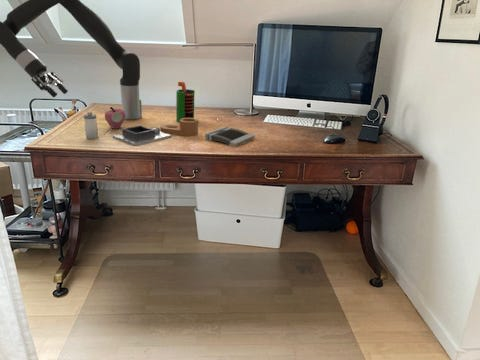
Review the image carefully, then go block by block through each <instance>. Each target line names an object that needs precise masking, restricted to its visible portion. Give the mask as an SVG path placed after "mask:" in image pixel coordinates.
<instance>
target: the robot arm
mask: <svg viewBox="0 0 480 360" xmlns="http://www.w3.org/2000/svg"><path fill="white" fill-rule="evenodd" d="M58 4H60V5H61V7H63V8H64V9H65V10H66V11H67V12H68V13H69V14H70V15H71V16H72V17H73V18H74V20H75V21H76V22H77V23H78V25H80V27H81V28H82V29H83V30H84V31H85V32H87V34H88V35H89V36H90V37H91V38H92V39H93V40H94V41H95V42H96V43H97V44H98V45H99V47H101V48H102V49H103V50H104V51H106V52H107V53H108V55H109V56H110V58H111V59H112V60H113V62H114V63H115V64H116V65H117V67H119V69H120V70H122V77H121V78H120V79H119V84H120V85H119V86H120V87H119V88H120V100H121V102H120V103H121V110H123V111H125V114H126V116H125V120H139V119H140V118H141V119H142V117H143V110H142V99H141V98H140V83H139V82H140V78H141V63H140V58H139V56H138V55H137V54H136V53H134V52H131V51H128V50H126V48H124V47H123V46H122V45H121V44H120V43H119V42H118V41H117V39H116V38H115V36H114V35H113V32H112V30H111V28H110V27H109V26H108V24H107V23H106V22H105V21H104V20H103V19H102V18H101V17H100V16H99V14H97V13H96V12H95V11H94V10H92V8H90V7H89V6H88V5H86V4H85V3H83V2H82V1H81V0H26V1H25V2H23V3H21V4H20V5H18V6H17V7H15V8H14V9H12V10H11V11H9V13H7V14H6V18H5V20H4V21H0V45H1V46H2V47H3V48H4V49H5V51H6V53H8V54H9V56H10V57H11V58H12V59H13V60H14V61H15V62H16V63H17V64H18V66H19V67H20V68H22V69H23V71H24V72H26V73H27V74H28V76H29V77H30V78H31V81H32V82H33V83H34V84H35V85H36V87H37V88H39V89H40V90H41V91H45V92H47V93H48V94H49V95H50V96H51V97H52V98H55V97H57V96H58V93H57V92H56V91H55V89H53V88H52V87H51V86H55V87H56V88H58V89H59V90H60V91H61V93H62V94H64V95H66V94H68V88H66V87H65V86H64V84H63V83H64V81H63V80H62V78H60V77H59V76H58V74H56V73H55V71H51V72H49V71H48V70H47V69H48V68H47V65H46V64H45V63H44V62H43V61H41V59H40V58H39V57H38V56H37V55H36V54H35V53H33V52H32V51H31V50H30V49H29V48H28V47H27V46H26V45H25V44H24V43H23V42H22V41H20V39H19V38H18V36H17V35H18V34H19V33H20V31H21V30H22V29H24V28H25V27H26V26H28V25H29V24H31V23H32V22H33V21H35V20H37V18H39V17H40V16H41V15H42V14H44V13H45V12H47V11H48V10H49V9H51V8H53V7H54V6H56V5H58ZM50 85H51V86H50Z"/></svg>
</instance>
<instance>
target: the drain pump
mask: <svg viewBox="0 0 480 360" xmlns="http://www.w3.org/2000/svg"><path fill="white" fill-rule="evenodd" d="M83 121H84V130H85V131H84V132H85V139H86V140H97V138H98V139H99V131H98V120H97V114H94V113H93V111H87V113H85V114H83Z"/></svg>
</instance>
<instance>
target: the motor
mask: <svg viewBox="0 0 480 360" xmlns="http://www.w3.org/2000/svg"><path fill="white" fill-rule="evenodd" d="M177 86H178V87H181V88H180V89H177V90H176V91H175V92H176V94H175V95H176V97H175V98H176V104H175V105H176V106H175V107H176V113H175V114H176V120H175V121H176V122H177V123H180V119H182V118H195V89H187V85H186V83H185V82H184V81H178V82H177Z"/></svg>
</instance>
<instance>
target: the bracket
mask: <svg viewBox="0 0 480 360" xmlns="http://www.w3.org/2000/svg"><path fill="white" fill-rule="evenodd" d="M198 123H199V121H198V119H197V118H195V117H194V118H182V119H180V122H179V124H171V123H168V124H167V123H166V124H161V125H160V127H159V128H160V131H161V132H164V133H167V134H170V135H172V136H180V137H196V136H198V132H199V131H198V130H199V128H198V126H199V125H198Z"/></svg>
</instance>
